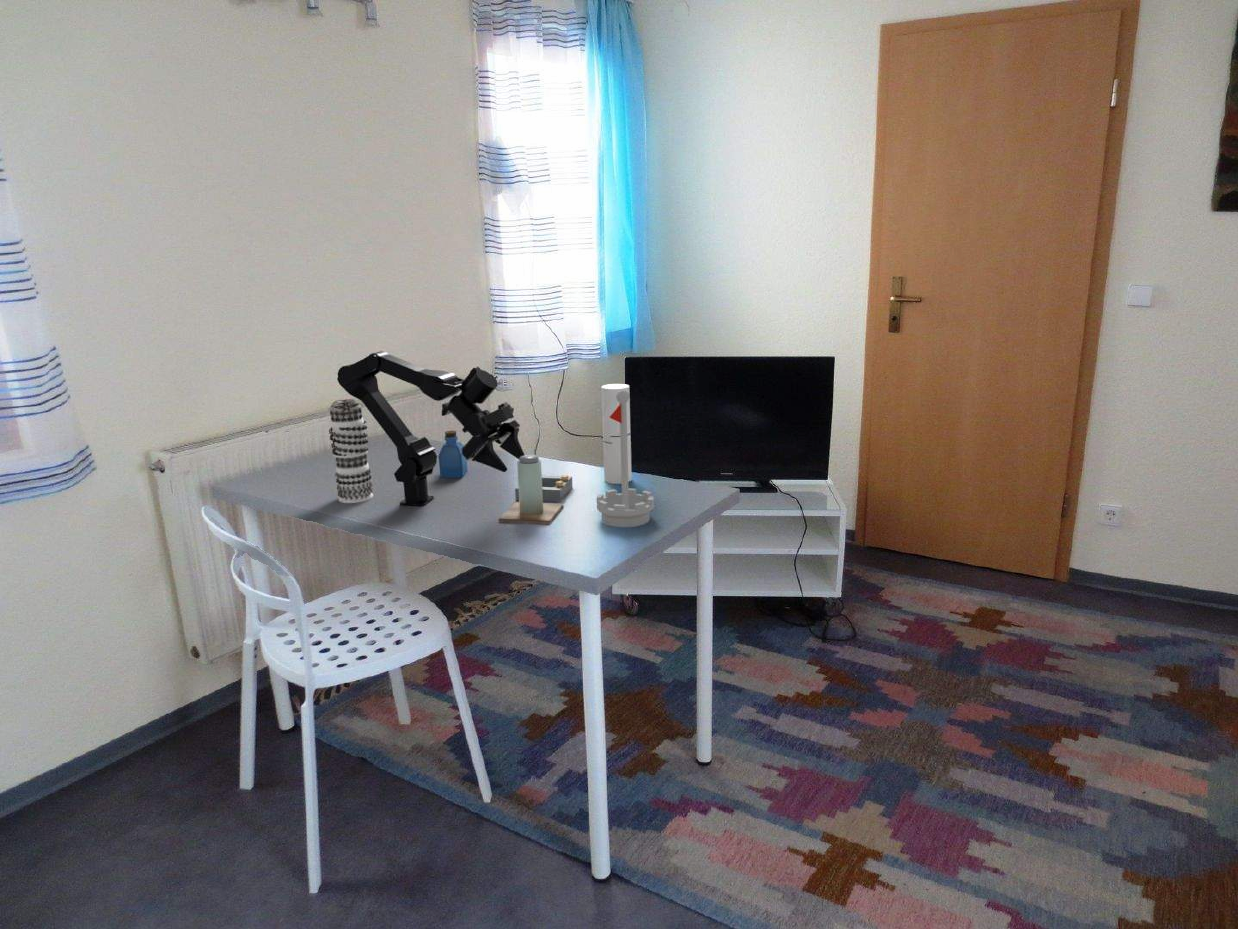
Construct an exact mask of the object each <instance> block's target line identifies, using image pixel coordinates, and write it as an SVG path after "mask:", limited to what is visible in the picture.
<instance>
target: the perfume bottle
mask: <svg viewBox="0 0 1238 929" xmlns="http://www.w3.org/2000/svg"><path fill="white" fill-rule="evenodd" d="M444 434H445V435H444V442H445V443H444V444H443V445H442V446H441V449H440V452H439V454H438V465H439V468H438V469H439V477H440V478H441V479H444V478H445V479H447V478H448V479H449V478H452V479H453V478H464V477H465V476H466V474H467V473H468V461H467V459H466V458H465V457H464V456H463V455H462V448H463V447H464V446H465V445H463V444H462V442H461V441H458V435H457V430H446V431H444Z"/></svg>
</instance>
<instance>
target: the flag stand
mask: <svg viewBox="0 0 1238 929" xmlns="http://www.w3.org/2000/svg"><path fill="white" fill-rule="evenodd" d="M629 393H630V392H629ZM629 393H628V392H627V391H625V390H620V391H619V392H618V393H617V394H616V399H617V401H618V402H619V406H618V407H617V409H616V410H615V411H614V412H613V413H612V415H611V416H610V417H609V418H611V419H613V420H615V421H618V422H620V442H621V479H622V484H621V493H620V492H619V493H618V492H617V491H618V490H616V489H608V490H606V491H605V495H604V494H603V493H602V494H601V493H600V494H597V496H596V509H597V511H598V512H599V513H601V522H602V521H603V522H604V523H603V522H602V523H603V524H605V525H607V526H609V527H613V528H614V527H615V528H635V527H639V526H643V525H645V524H647V523H648V522H650V519H651V517H650V515H651V511H653V509H655V508H654V507H655V497H654V496H652V492H650V491H647V490H643V491H641V493H637V488H631V487H629V482H628V451H627V411H626V402H627V401H628V400H629Z"/></svg>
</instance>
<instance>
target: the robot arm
mask: <svg viewBox="0 0 1238 929" xmlns="http://www.w3.org/2000/svg"><path fill="white" fill-rule="evenodd" d="M379 373H384V374H386V375H389V376H391V377H394V378H397V379H399V380H401V381H403V382H406V383H409V384H410V385H414V386H415V387H417V388H418V389H420V391H421V392H422V394H424V395H425V396H427V397H429V398H431V399H432V400H433V401H437V402H440V401H444V400H445V399H446V400H447V399H450V398H451V399H450V400H449V401H448V402H445V403H442V404H441V408H442V409H441V416H443V417H445V416H448V415H450V414H451V415H453V417H454V418H455V419H456V420H457V421H458V422H459V424H460V425H461V426H462V427H463V428H462V429H461V431H462V432H463V433H464V434H466V433H469V435H470V436H471V437H470V439H469V440H468V441H467V442H466V444H465V445H463V446H464V447H463V448H462V455H463V456H464V457H465V458H466V459H467V462H468V461H470V460H471V461H472V462H477V463H478V464H482V465H486V466H488V467H490V468H493V469H495V470H498V471H500V472H501V473H506V472H507V471H508V468H507V465H506V464H505V463H504V461H502V459H501V458H500V457H499V455H498V454H497V453H496V451H495V448H494V442H495V443H496V444H498V445H499V448H501V450H504V451H505V452H507V453H508V454H510V455H512V456H513V457H514V458H516V459H517V460H519V457H521V456H524V455H526V454H525V452H524V450H523V449H522V446H521V443H520V440H519V432H520V427H521V425H520V424H519V423H518V421H517V420H516V419H513V418H515V415H514V410H515V409H514V407H513V406H511V404H509V403H508V402H507V401H505V402H503V403H501V404H498V406H497V409H496V410H494V411H491V412H490V410H488V409H484V410H482V408H480V406H479V405H478V404H480V405H482V404H483V403H485V402H486V400H487V399H488V398H489V397H490V396H491V394H492V393H493V392H494V391H495V390H496V389H497V387H498V385H499V384H498V380H497V379H496V377H495V376H494V375H493V374H491V373H489V372H488V371H486V370H483V369H481V367H479V366H475V367H473V368H472V369H471V370H470V372H469V373H468V375H467V376H466V377H465V378H463V377H462V378H461V377H458V375H456V374H455V373H453V372H450V371H445V370H441V369H440V370H438V369H437V370H436V369H428V368H424V367H422V366H420V365H417V364H414V363H412V362H409V361H407V360H404V359H401V358H399V357H397V356H394V355H392V354H390V353H388V352H387V351H383V350H381V351H376V352H372V353H370V354H369V355H367V356H366V357H364V358H363V359H360V360H359V361H356V362H355V363H350V364H347V365H343V366H341V367H340V368H339V369H338V371H337V382H338V384H339V386H340V387H341V388H342V389H344V391H345V392H346V393H347V394H349V395H350V396H351V397H353V398H355V399H358V400H359V401H361V403H363V405H364V406H365V407H366V409H367V410H368V411H369V413H370V414H371V416H372V417H373V418H374V419H375V421H376V422H377V423H378V425H379V427H381V429H382V430H383V431H384V433H385V434H386V435H387V437H388V438H389V439H390V440H391V442H392V443H393V445H394V446H395V447H396V452H397V460H398V461H399V463H400V464H401V465H400V466H399V467H398V468H397V469H396V470H395V472H394V473H393V475H394V478H395V480H396V482H397V483H398V482H399V483H403V492H404V493H403V494H404V499H402V500H401V501H399V505H404V506H425V505H426V504H428V503H429V502H431V501H432V500H433V499H435V496H434V495H429V488H428V479H427V476H429V475H433V472H434V468H435V467H436V466H437V462H438V461H437V458H438V455H437V453H436V452H435V450H436V447H433V446H432V444H431V443H430V441H429V440H428V438H427V437H426V436H422V437H421V438H418V437H417V436H415V435H414V434H413V433H412V432H411V431H410V429H409V428H408V427H407V425H406V424H405V423H404V421H403V419H402V418H401V417H400V416H399V414H398V413H397V412H396V411H395V409H394V408H393V407H392V405H391V404H390V403H389V401H388V400H387V399H386V397H385V396H384V394H382V392H381V391H380V389H379V384H378V378H377V377H376V376H377V375H378V374H379ZM459 392H460V393H459ZM457 394H458V395H457Z"/></svg>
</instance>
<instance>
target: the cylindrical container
mask: <svg viewBox="0 0 1238 929" xmlns="http://www.w3.org/2000/svg"><path fill="white" fill-rule="evenodd" d="M620 390H625V391H627V392H628V393H629V400H628V401H627V402H626V411H627V451H628V483H630V482H631V481H632V447H631V446H632V442H631V438H632V437H631V408H630V407H631V404H630V403H631V402H630V401H631V398H630V397H631V396H630V395H631V394H630V385H629V384H625V383H608V384H604V385H602V386H601V408H602V409H601V412H602V413H601V414H602V417H601V418H602V439H603V440H602V443H603V447H602V448H603V475H604V482H605V481H606V482H605V483H608V484H614V485H615V484H616V485H620V484H621V485H622V479H621V442H620V422H618V421H615V420H613V419H611V418H609V417H610V416H611V415H612V413H613V412H614V411H615V410H616V409H617V407H618V406H619V402H618V401H617V399H616V394H617V393H618V392H619V391H620ZM629 481H630V482H629Z"/></svg>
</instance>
